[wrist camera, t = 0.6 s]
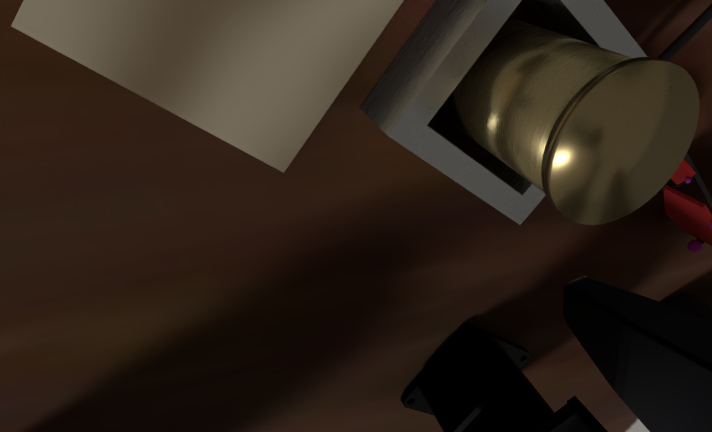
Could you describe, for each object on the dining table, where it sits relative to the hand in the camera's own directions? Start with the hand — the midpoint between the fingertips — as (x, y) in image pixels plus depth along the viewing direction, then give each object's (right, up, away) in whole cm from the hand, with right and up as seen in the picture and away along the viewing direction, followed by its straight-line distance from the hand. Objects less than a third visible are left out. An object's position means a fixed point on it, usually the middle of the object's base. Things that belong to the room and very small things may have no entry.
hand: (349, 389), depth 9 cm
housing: (+6, +9, +13) cm, 17 cm away
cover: (+6, +9, +13) cm, 17 cm away
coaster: (-4, +11, +8) cm, 14 cm away
